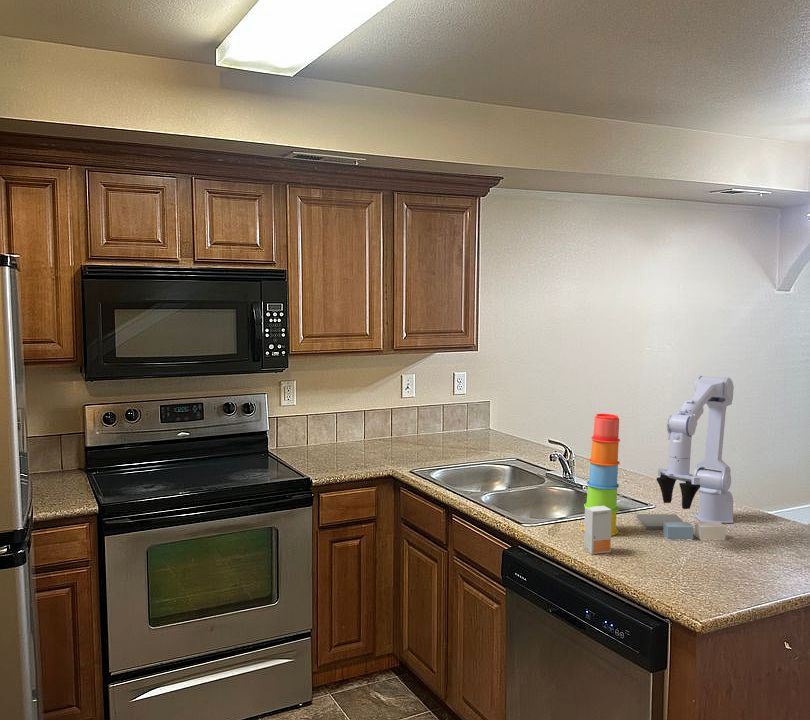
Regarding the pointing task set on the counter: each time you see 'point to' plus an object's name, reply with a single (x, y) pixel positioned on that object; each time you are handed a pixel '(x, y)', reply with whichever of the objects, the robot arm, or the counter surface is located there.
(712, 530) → the cream brick
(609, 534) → the skincare box
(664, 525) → the blue brick
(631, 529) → the counter surface
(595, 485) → the stacking cups
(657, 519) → the baseplate
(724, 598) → the counter surface
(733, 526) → the counter surface
